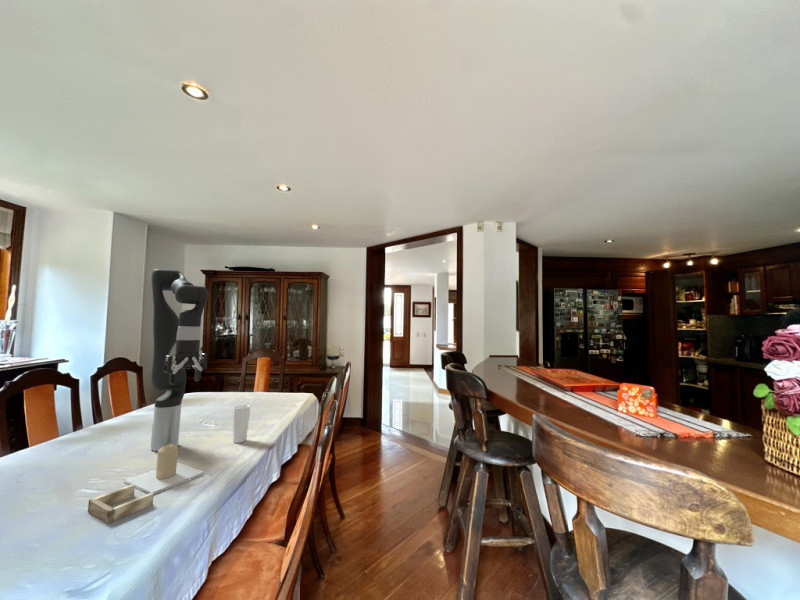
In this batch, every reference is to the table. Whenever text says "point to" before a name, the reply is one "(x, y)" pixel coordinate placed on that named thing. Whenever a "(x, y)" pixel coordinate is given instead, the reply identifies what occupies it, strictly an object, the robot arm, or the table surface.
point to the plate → (154, 485)
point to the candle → (167, 461)
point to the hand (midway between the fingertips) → (185, 382)
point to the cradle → (110, 514)
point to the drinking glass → (240, 423)
